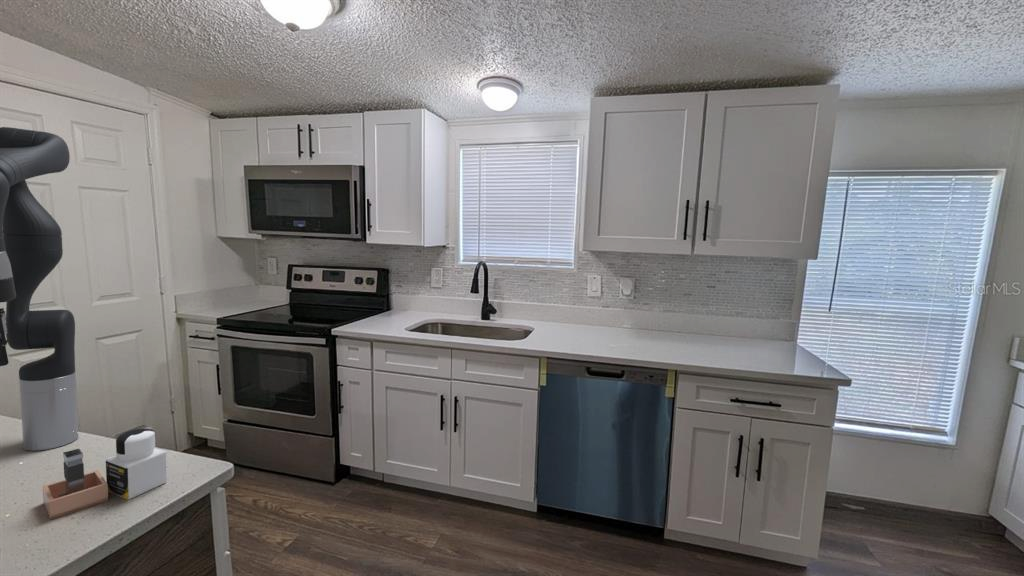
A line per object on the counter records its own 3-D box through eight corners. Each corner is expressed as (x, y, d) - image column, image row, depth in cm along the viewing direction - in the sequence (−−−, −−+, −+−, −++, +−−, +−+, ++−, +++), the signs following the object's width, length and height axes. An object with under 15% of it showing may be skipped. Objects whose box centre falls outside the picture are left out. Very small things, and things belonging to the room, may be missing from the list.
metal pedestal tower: (58, 499, 82) (55, 453, 81) (87, 490, 85) (84, 446, 84) (62, 508, 80) (60, 460, 79) (92, 498, 83) (89, 452, 82)
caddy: (43, 503, 82) (42, 486, 81) (98, 485, 88) (98, 469, 88) (50, 519, 77) (49, 502, 77) (108, 500, 83) (107, 483, 83)
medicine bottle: (106, 491, 86) (103, 436, 85) (146, 474, 93) (144, 422, 92) (127, 500, 84) (125, 443, 83) (167, 482, 90) (166, 429, 89)
